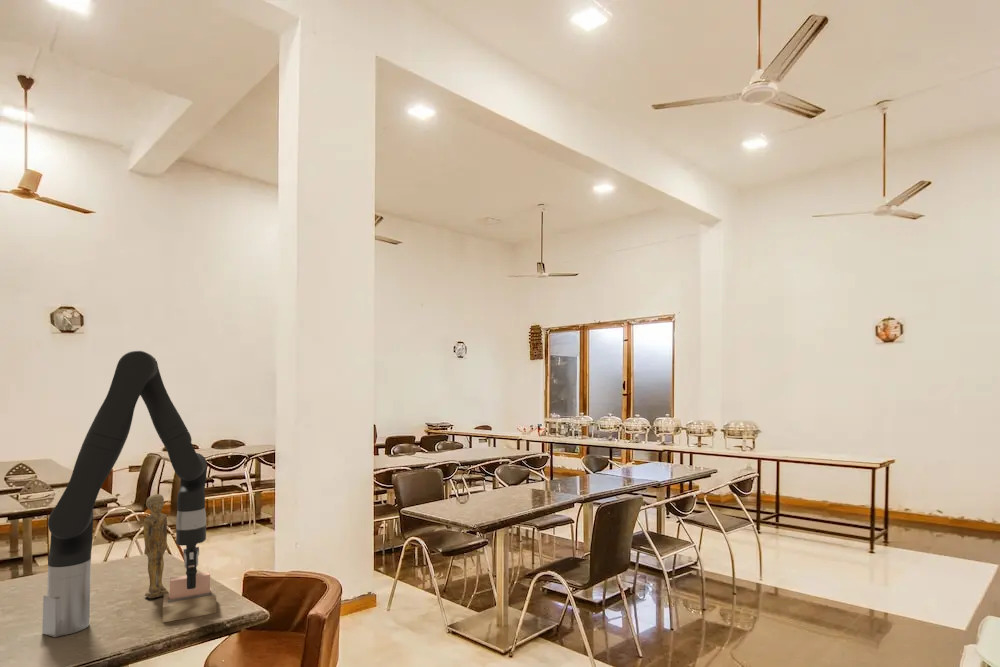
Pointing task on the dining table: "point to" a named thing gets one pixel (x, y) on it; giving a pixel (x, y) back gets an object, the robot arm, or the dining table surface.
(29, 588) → the dining table surface
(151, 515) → the sculpture
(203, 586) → the pink square prism
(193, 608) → the dispenser
